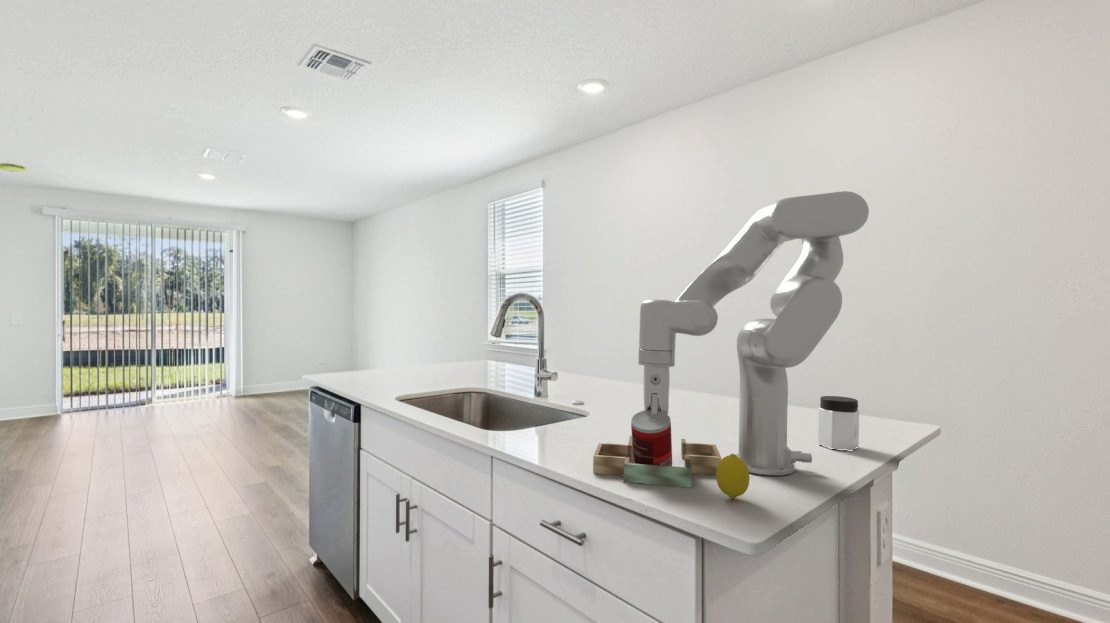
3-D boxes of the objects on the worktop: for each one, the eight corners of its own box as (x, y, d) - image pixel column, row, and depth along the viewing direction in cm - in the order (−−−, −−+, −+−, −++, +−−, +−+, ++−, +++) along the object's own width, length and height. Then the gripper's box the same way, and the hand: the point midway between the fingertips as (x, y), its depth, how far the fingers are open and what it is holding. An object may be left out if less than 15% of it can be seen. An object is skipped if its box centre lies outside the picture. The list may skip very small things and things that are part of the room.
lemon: (733, 507, 86) (733, 459, 86) (709, 496, 91) (709, 451, 91) (756, 501, 89) (756, 456, 89) (731, 491, 94) (732, 448, 94)
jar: (850, 453, 120) (851, 403, 120) (814, 446, 126) (815, 398, 126) (862, 447, 126) (863, 398, 126) (826, 440, 132) (827, 394, 132)
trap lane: (713, 456, 116) (713, 440, 116) (727, 490, 94) (727, 471, 94) (602, 448, 121) (602, 433, 121) (590, 479, 99) (590, 461, 99)
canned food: (672, 456, 106) (671, 409, 103) (672, 480, 99) (670, 431, 95) (635, 454, 108) (632, 408, 105) (632, 478, 101) (629, 429, 97)
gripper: (675, 362, 99) (672, 456, 99) (674, 356, 114) (671, 438, 114) (636, 360, 101) (633, 453, 101) (640, 354, 115) (637, 435, 115)
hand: (653, 444), depth 107 cm, fingers closed
